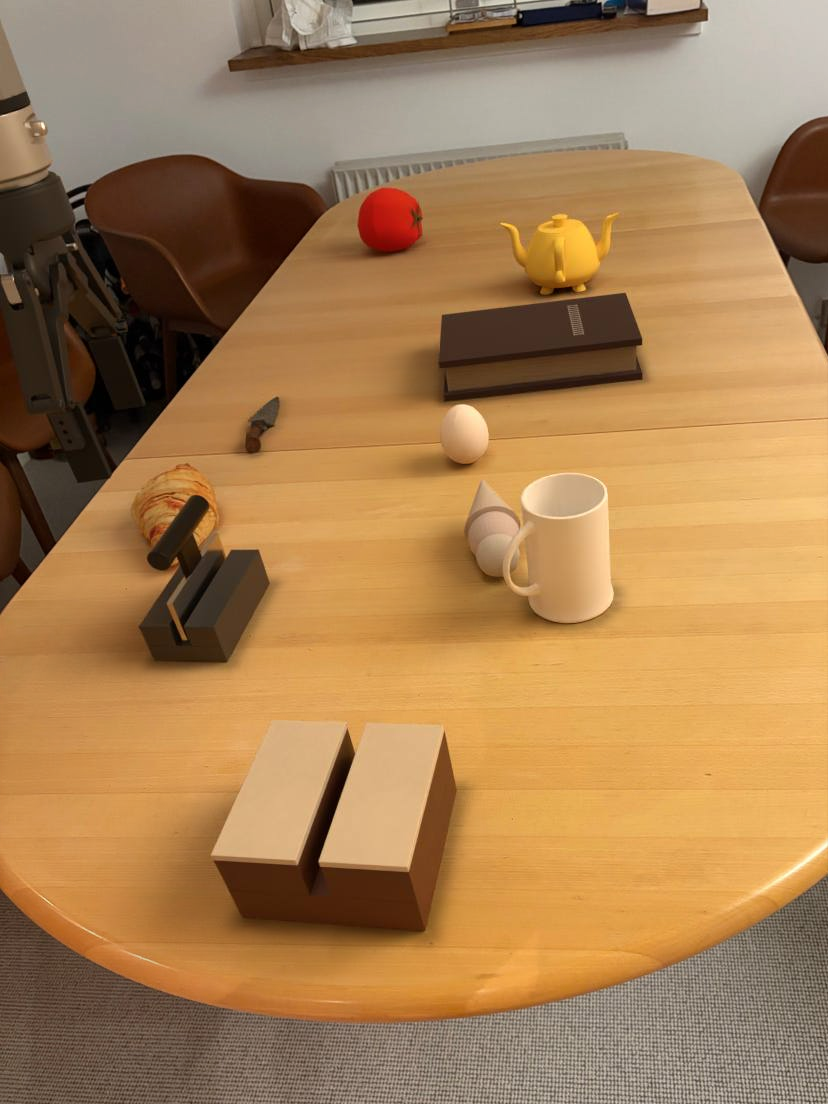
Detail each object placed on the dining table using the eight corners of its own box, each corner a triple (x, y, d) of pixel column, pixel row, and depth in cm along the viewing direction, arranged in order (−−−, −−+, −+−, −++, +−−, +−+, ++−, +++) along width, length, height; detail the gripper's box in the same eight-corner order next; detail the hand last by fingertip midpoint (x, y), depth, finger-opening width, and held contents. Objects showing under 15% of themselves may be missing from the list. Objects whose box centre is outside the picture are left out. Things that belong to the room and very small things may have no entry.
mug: (530, 649, 86) (519, 544, 79) (485, 605, 92) (470, 504, 85) (631, 601, 90) (629, 496, 82) (581, 562, 96) (575, 461, 88)
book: (624, 326, 142) (624, 288, 139) (642, 379, 127) (642, 338, 124) (447, 347, 144) (442, 310, 141) (444, 401, 130) (438, 362, 126)
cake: (241, 917, 67) (210, 855, 62) (295, 782, 77) (271, 719, 72) (425, 931, 65) (407, 867, 60) (457, 789, 74) (443, 724, 69)
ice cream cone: (489, 506, 106) (508, 598, 97) (444, 487, 103) (460, 580, 94) (519, 469, 103) (542, 560, 93) (474, 448, 100) (493, 540, 90)
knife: (257, 441, 123) (223, 430, 123) (257, 455, 124) (222, 445, 124) (306, 397, 136) (274, 387, 136) (305, 410, 137) (274, 401, 137)
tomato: (364, 267, 190) (423, 268, 186) (340, 225, 178) (402, 224, 174) (378, 216, 193) (436, 216, 189) (355, 170, 181) (417, 169, 177)
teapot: (502, 307, 155) (495, 236, 147) (509, 276, 166) (503, 209, 159) (621, 297, 152) (620, 225, 144) (620, 267, 163) (619, 198, 155)
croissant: (209, 592, 106) (223, 536, 101) (117, 576, 102) (128, 517, 98) (216, 498, 122) (228, 446, 117) (137, 481, 118) (146, 427, 114)
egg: (501, 456, 115) (495, 401, 111) (469, 478, 112) (461, 421, 107) (466, 445, 119) (459, 390, 114) (434, 465, 116) (425, 410, 111)
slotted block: (154, 660, 92) (138, 626, 89) (202, 583, 102) (189, 549, 99) (227, 662, 90) (213, 627, 88) (270, 582, 100) (258, 549, 97)
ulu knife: (175, 642, 90) (138, 558, 84) (220, 571, 99) (189, 489, 93) (196, 643, 90) (160, 558, 83) (238, 571, 99) (209, 489, 92)
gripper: (-1, 220, 57) (124, 507, 71) (96, 136, 76) (180, 375, 90) (-118, 238, 57) (29, 521, 71) (8, 150, 76) (105, 386, 90)
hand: (114, 440), depth 80 cm, fingers open, 13 cm apart
